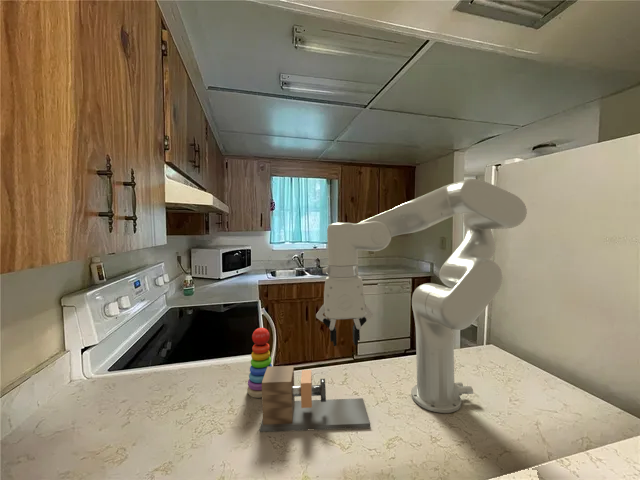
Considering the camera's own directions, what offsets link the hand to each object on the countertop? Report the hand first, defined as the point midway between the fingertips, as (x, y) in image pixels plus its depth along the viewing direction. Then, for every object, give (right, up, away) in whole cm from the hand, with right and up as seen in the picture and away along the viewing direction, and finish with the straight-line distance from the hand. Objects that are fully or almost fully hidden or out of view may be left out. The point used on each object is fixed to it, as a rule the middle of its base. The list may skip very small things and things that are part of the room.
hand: (345, 342), depth 69 cm
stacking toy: (-24, -19, +12) cm, 33 cm away
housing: (-7, -19, 0) cm, 20 cm away
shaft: (-13, -15, 0) cm, 20 cm away
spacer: (-10, -14, 0) cm, 17 cm away
